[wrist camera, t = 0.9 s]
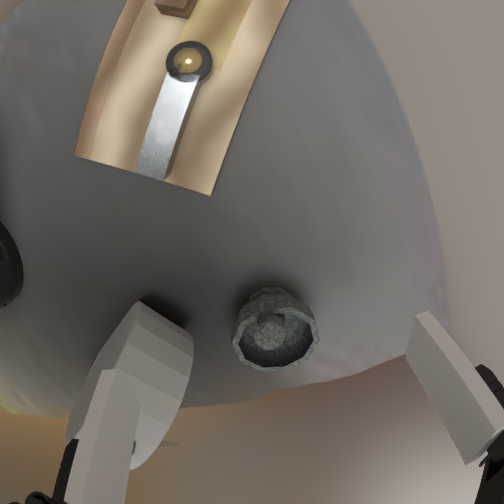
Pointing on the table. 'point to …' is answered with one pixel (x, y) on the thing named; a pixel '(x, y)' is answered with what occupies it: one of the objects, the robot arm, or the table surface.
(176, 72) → the latch bar
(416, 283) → the table surface
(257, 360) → the mortar and pestle
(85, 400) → the alarm clock
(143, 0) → the board
